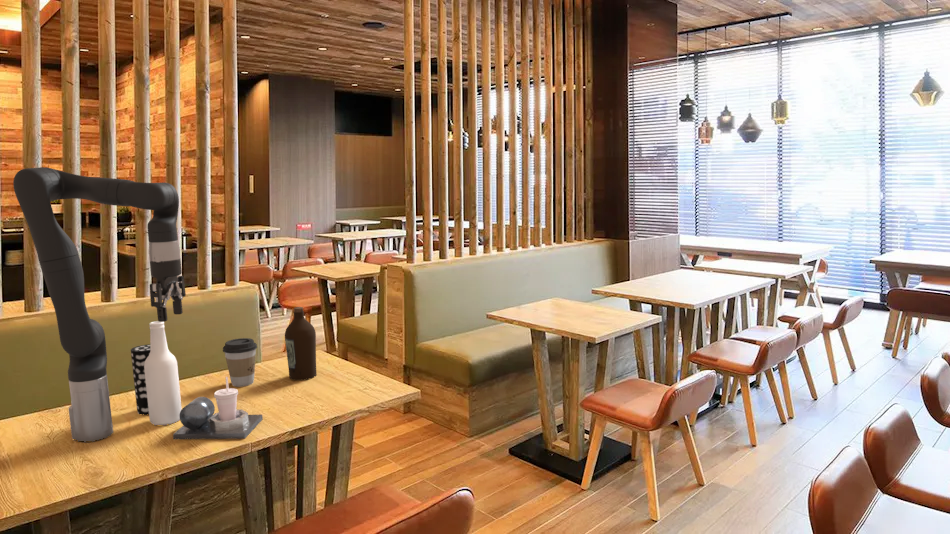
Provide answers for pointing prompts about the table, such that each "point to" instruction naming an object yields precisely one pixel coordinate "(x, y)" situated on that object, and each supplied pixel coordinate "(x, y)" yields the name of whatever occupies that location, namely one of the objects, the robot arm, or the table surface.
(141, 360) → the white-spotted black cylinder
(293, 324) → the olive oil
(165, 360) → the alcohol
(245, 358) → the coffee cup
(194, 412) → the flat grey tray
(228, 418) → the smoothie
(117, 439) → the table surface
